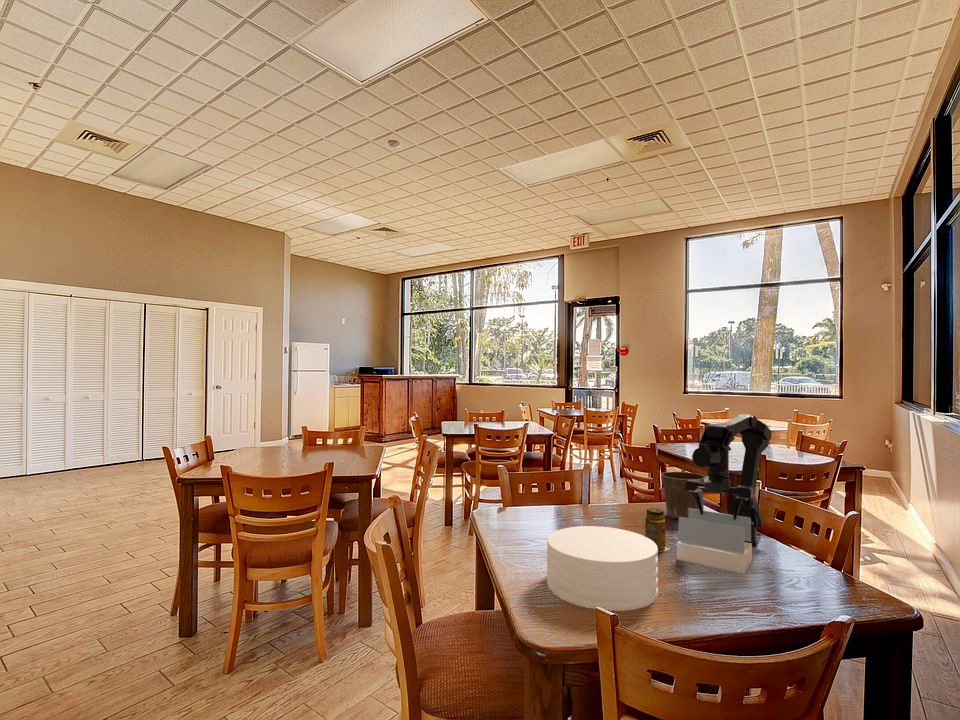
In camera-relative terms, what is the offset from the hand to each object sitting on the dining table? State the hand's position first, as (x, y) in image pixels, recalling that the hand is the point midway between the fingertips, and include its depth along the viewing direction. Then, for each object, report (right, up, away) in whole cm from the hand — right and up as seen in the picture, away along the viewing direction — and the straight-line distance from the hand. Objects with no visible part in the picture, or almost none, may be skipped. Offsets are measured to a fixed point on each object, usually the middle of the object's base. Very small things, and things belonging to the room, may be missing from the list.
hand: (718, 517), depth 156 cm
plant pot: (+6, -13, +42) cm, 44 cm away
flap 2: (-6, -2, -8) cm, 11 cm away
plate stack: (-41, -11, -23) cm, 49 cm away
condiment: (-18, -12, +6) cm, 22 cm away
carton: (-3, -11, -4) cm, 13 cm away
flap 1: (0, -3, +1) cm, 3 cm away
